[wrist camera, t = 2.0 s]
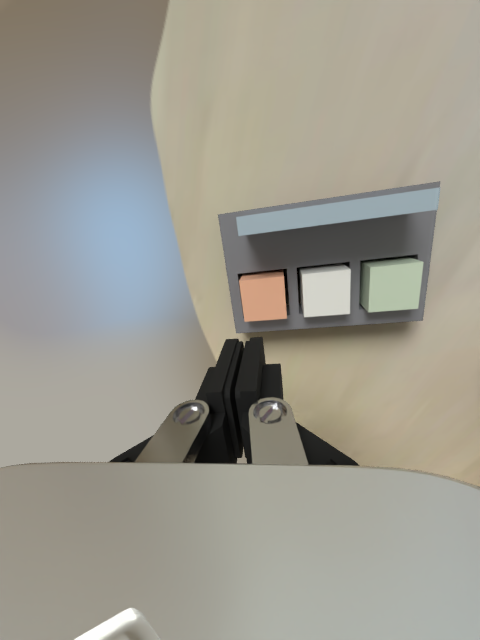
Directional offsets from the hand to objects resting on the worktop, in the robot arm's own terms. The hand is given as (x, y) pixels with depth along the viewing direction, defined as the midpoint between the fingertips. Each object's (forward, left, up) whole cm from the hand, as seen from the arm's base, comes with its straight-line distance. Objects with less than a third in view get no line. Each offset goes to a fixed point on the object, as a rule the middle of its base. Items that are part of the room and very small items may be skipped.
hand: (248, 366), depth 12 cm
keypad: (-5, -2, -15) cm, 16 cm away
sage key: (-10, 0, -13) cm, 17 cm away
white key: (-5, 0, -13) cm, 14 cm away
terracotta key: (0, 0, -13) cm, 13 cm away
